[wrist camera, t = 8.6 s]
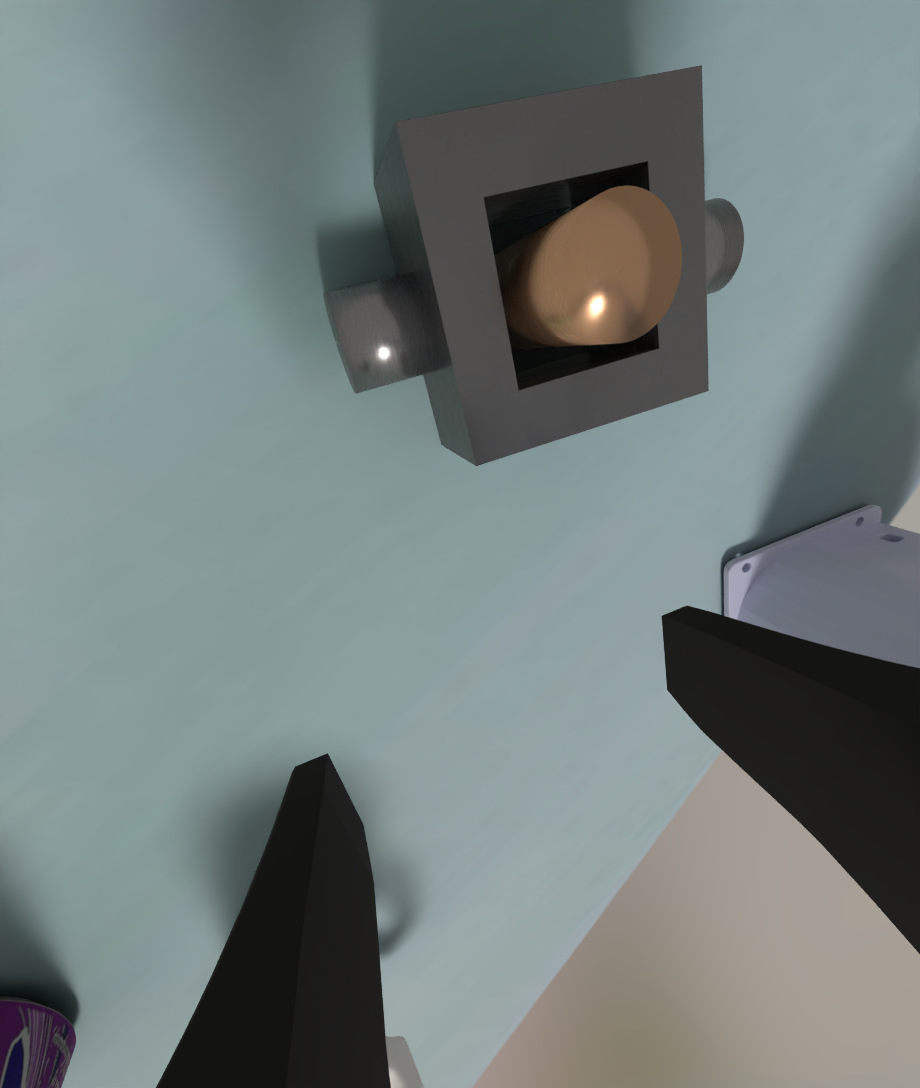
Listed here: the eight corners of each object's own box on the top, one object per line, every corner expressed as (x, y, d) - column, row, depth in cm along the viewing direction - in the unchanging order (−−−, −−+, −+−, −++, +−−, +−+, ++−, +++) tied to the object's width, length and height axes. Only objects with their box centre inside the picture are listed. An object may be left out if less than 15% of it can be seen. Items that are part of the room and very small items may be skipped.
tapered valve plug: (556, 237, 16) (680, 174, 11) (567, 338, 17) (683, 327, 12) (467, 255, 15) (552, 199, 10) (486, 358, 17) (570, 357, 11)
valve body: (676, 121, 16) (783, 50, 12) (685, 368, 19) (772, 370, 16) (289, 200, 14) (283, 143, 10) (375, 465, 17) (393, 492, 13)
